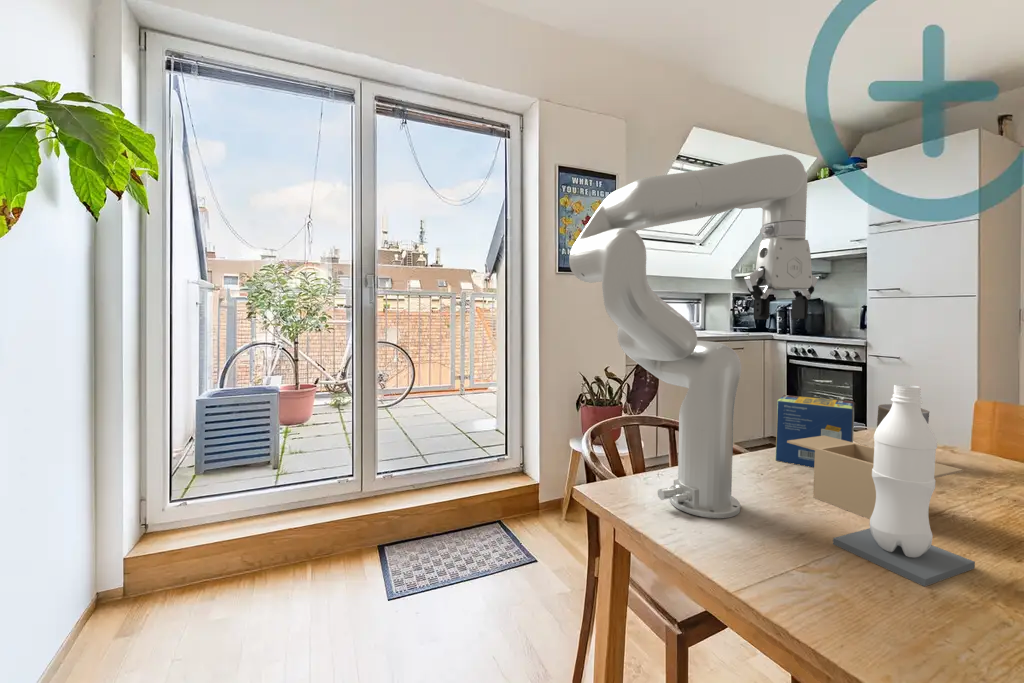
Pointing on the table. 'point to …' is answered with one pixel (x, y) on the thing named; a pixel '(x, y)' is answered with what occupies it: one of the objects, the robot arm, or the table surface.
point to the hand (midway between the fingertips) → (780, 319)
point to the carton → (848, 473)
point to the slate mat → (906, 559)
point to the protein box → (810, 425)
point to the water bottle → (903, 475)
